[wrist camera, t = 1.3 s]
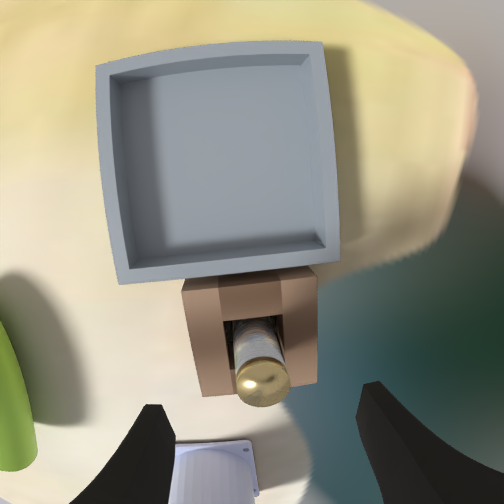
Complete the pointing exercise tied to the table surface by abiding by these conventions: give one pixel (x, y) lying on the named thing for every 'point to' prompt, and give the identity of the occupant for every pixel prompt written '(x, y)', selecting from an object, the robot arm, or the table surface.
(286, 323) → the pin block
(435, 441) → the robot arm
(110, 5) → the table surface
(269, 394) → the pin
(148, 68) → the tray
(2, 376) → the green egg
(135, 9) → the table surface
